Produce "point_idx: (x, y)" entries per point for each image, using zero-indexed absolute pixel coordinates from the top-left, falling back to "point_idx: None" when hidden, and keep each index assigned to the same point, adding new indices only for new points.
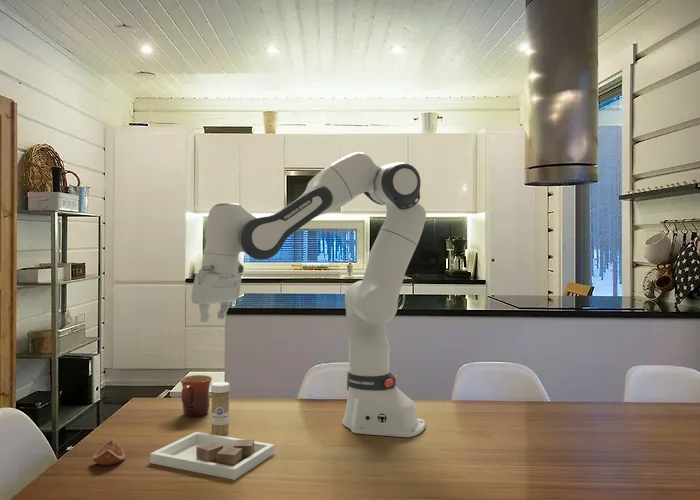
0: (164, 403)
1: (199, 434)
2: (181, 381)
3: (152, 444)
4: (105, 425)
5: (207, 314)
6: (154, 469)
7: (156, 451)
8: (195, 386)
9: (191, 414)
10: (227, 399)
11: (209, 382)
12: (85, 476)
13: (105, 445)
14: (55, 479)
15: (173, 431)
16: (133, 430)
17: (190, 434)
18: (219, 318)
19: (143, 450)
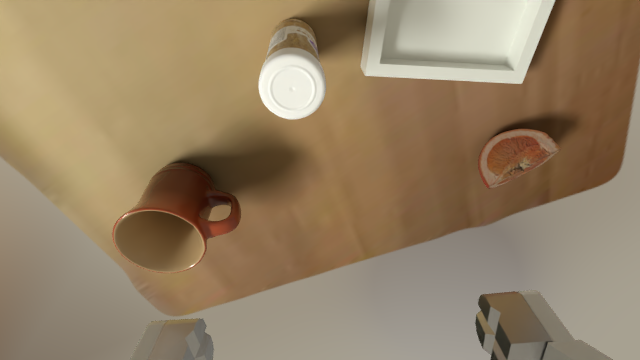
0: None
1: (380, 56)
2: (202, 257)
3: (390, 147)
4: (324, 270)
5: (588, 345)
6: None
7: (509, 78)
8: (194, 217)
9: (212, 182)
10: (292, 42)
11: (147, 205)
12: None
13: (512, 176)
14: (565, 178)
15: (307, 158)
16: (330, 221)
17: (388, 76)
18: (210, 337)
19: (424, 141)
